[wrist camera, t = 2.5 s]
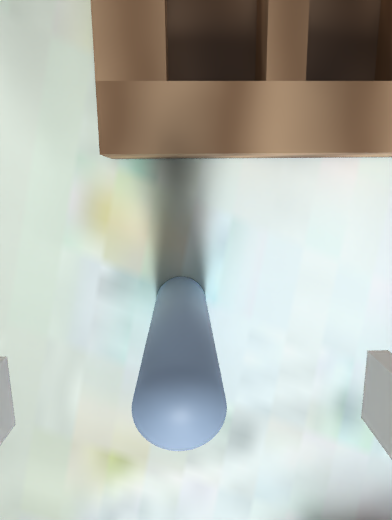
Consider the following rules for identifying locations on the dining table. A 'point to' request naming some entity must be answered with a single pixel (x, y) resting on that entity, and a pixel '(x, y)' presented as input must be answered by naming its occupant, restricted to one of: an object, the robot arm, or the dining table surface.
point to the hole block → (243, 78)
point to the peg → (179, 372)
